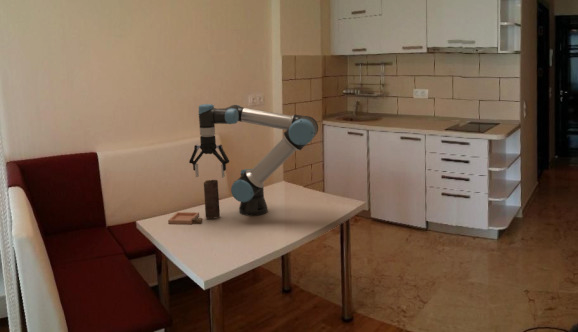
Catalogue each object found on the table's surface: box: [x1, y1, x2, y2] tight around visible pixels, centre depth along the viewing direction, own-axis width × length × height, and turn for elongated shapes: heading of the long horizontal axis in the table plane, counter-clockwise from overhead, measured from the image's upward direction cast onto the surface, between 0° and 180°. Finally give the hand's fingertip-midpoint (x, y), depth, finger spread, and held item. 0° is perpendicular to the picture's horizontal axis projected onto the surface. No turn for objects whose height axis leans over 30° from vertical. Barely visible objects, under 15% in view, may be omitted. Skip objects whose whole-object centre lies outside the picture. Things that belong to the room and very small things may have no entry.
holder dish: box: [167, 211, 200, 225], centre depth 266 cm, size 12×13×2 cm
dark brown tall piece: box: [203, 179, 221, 219], centre depth 266 cm, size 8×7×20 cm
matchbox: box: [191, 217, 203, 225], centre depth 261 cm, size 5×3×2 cm, turn 82°
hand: (210, 176), depth 263 cm, fingers open, 13 cm apart
